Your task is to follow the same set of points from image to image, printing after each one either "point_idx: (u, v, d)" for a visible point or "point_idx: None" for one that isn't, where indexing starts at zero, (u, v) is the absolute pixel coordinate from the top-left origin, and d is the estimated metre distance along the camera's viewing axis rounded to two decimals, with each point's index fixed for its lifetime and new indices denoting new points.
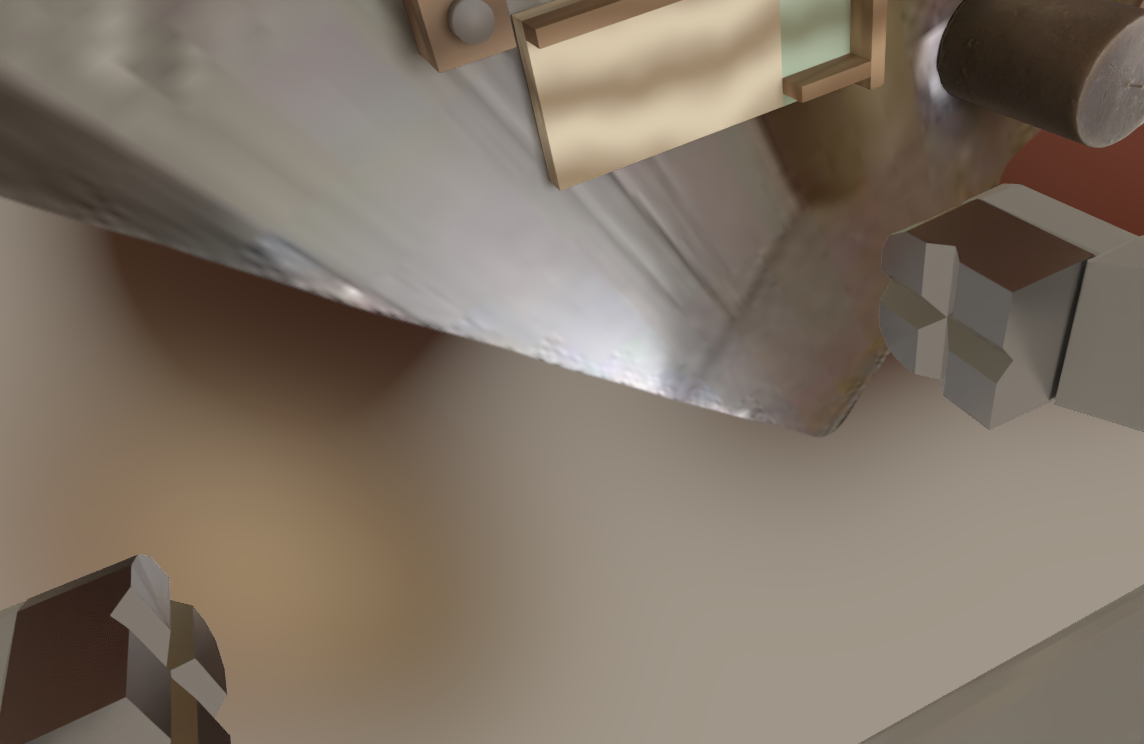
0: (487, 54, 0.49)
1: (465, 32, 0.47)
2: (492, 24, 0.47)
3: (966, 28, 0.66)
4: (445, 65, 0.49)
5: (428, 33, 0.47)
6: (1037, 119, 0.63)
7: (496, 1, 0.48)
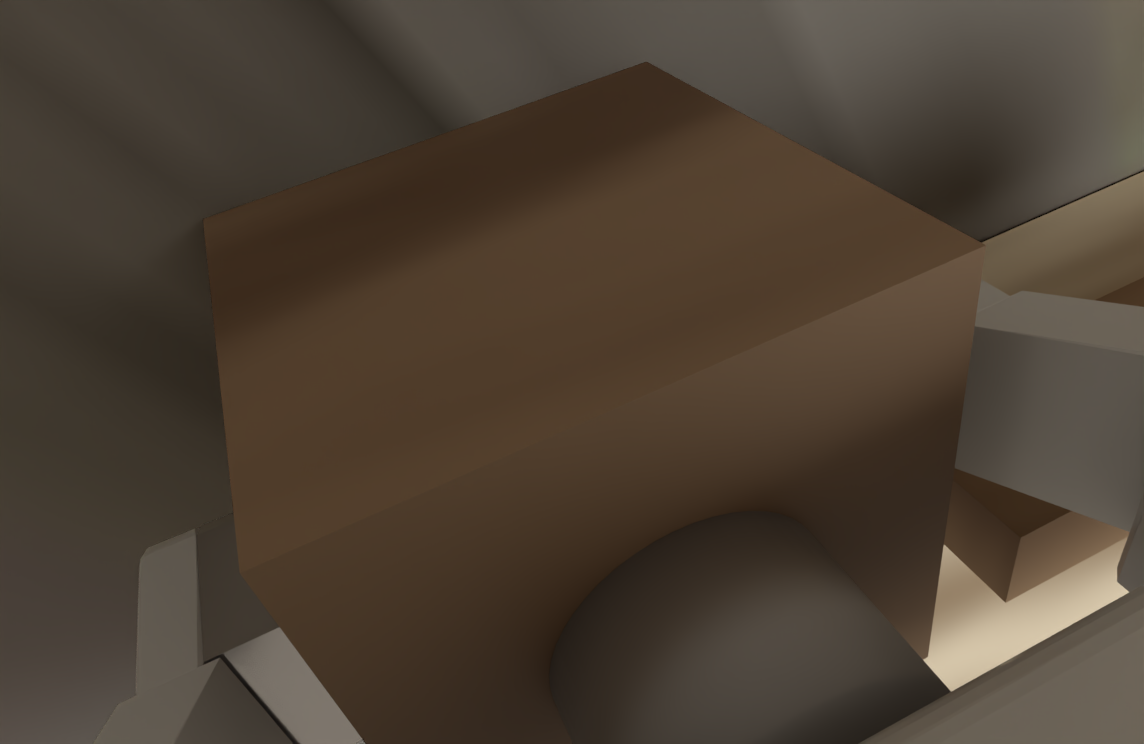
0: None
1: None
2: None
3: None
4: None
5: None
6: None
7: (897, 501, 0.07)
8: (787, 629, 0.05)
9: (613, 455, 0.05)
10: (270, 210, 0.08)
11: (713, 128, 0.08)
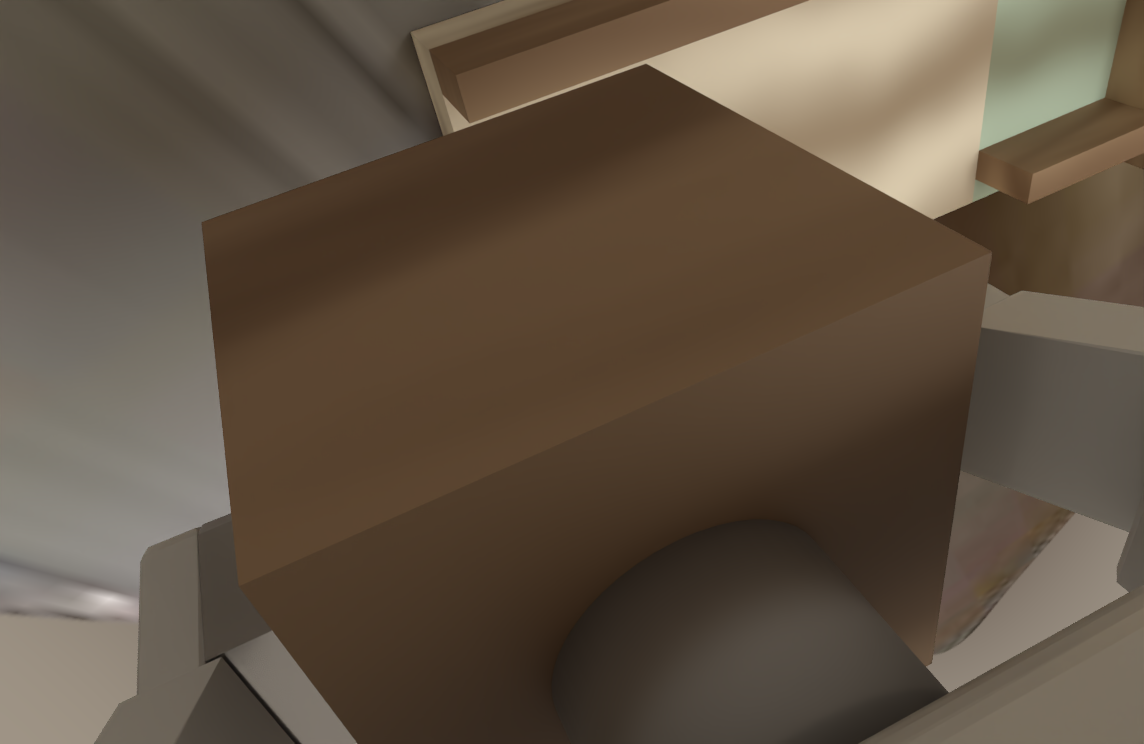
0: None
1: None
2: None
3: None
4: None
5: None
6: None
7: (901, 508, 0.07)
8: (792, 639, 0.05)
9: (617, 466, 0.05)
10: (270, 215, 0.08)
11: (715, 130, 0.07)
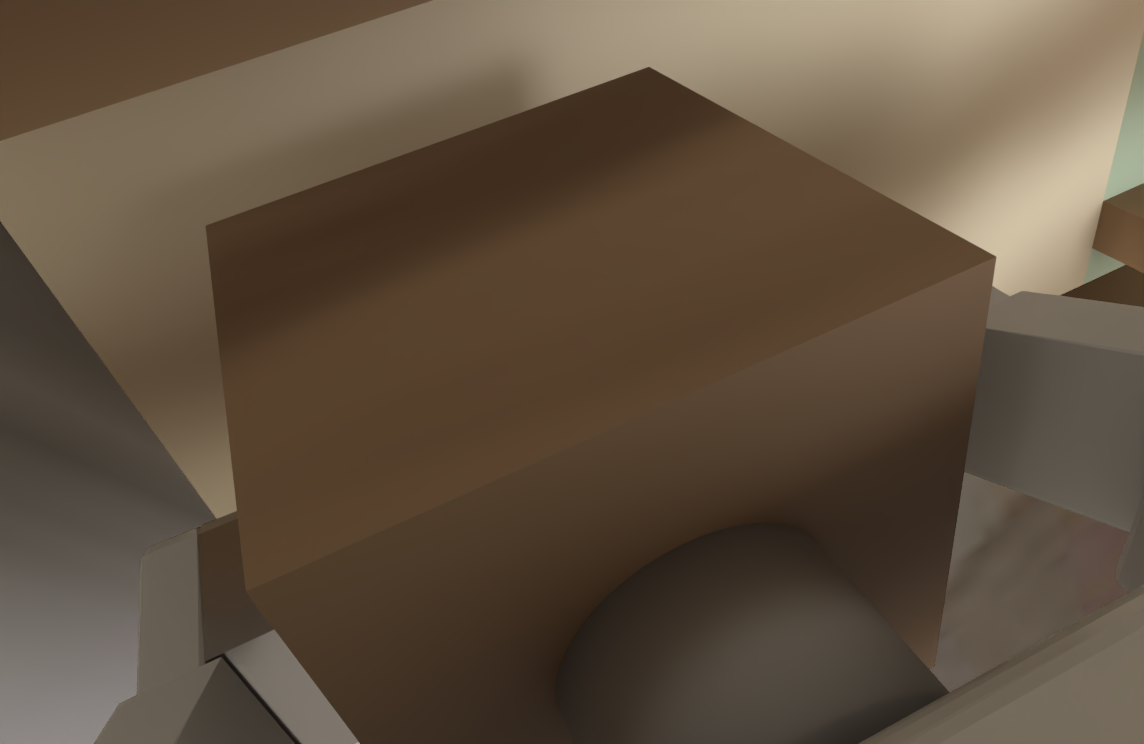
0: None
1: None
2: None
3: None
4: None
5: None
6: None
7: (905, 512, 0.07)
8: (797, 643, 0.05)
9: (622, 471, 0.05)
10: (274, 219, 0.08)
11: (718, 135, 0.08)
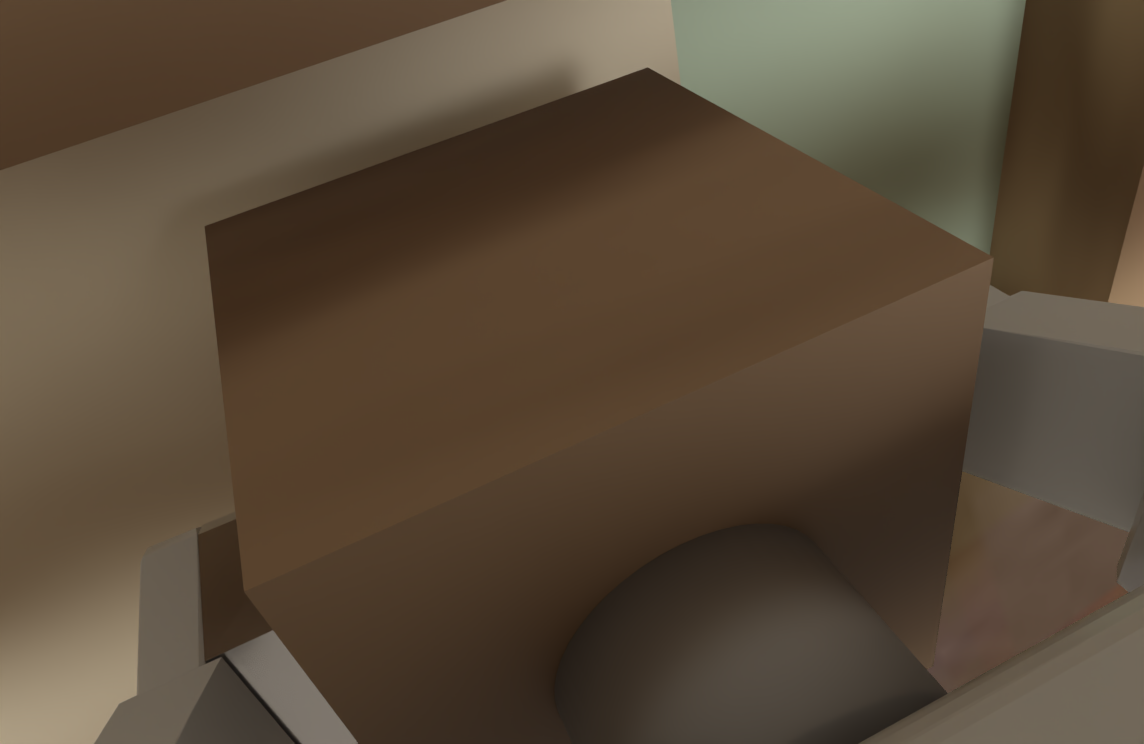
0: None
1: None
2: None
3: None
4: None
5: None
6: None
7: (903, 513, 0.07)
8: (795, 644, 0.05)
9: (622, 470, 0.05)
10: (273, 219, 0.08)
11: (717, 135, 0.08)
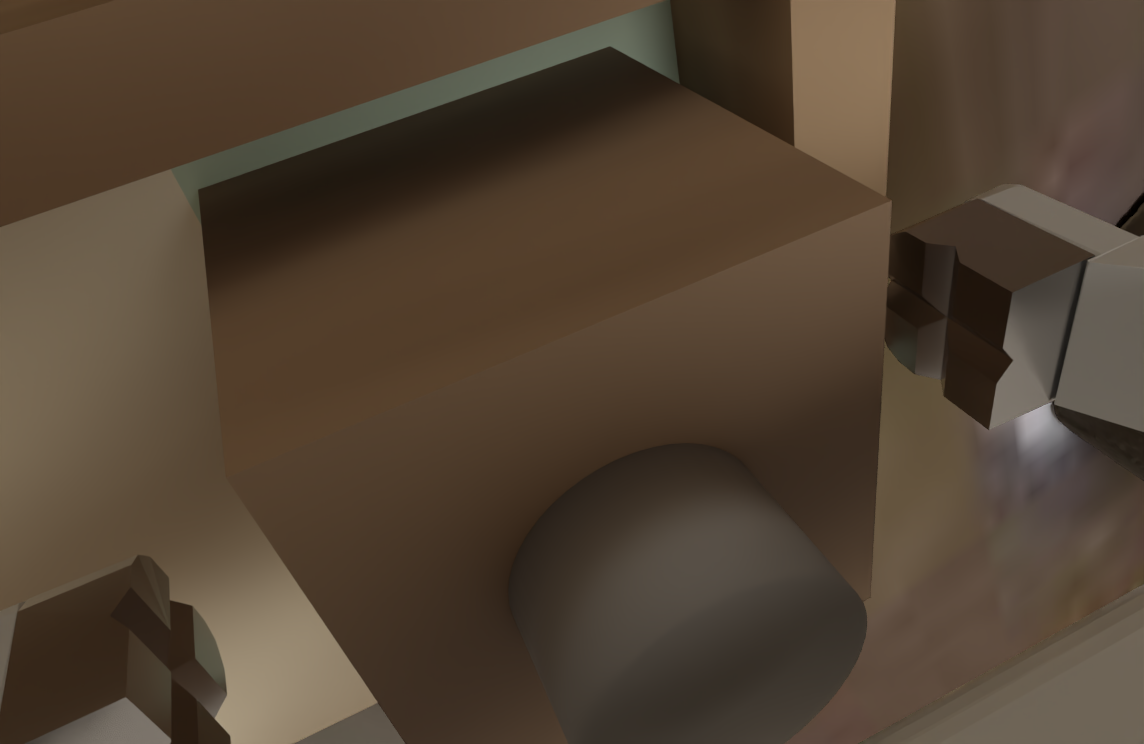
0: None
1: None
2: (842, 666, 0.06)
3: None
4: None
5: (379, 693, 0.07)
6: None
7: (827, 442, 0.07)
8: (710, 537, 0.06)
9: (559, 383, 0.06)
10: (261, 182, 0.09)
11: (666, 103, 0.08)
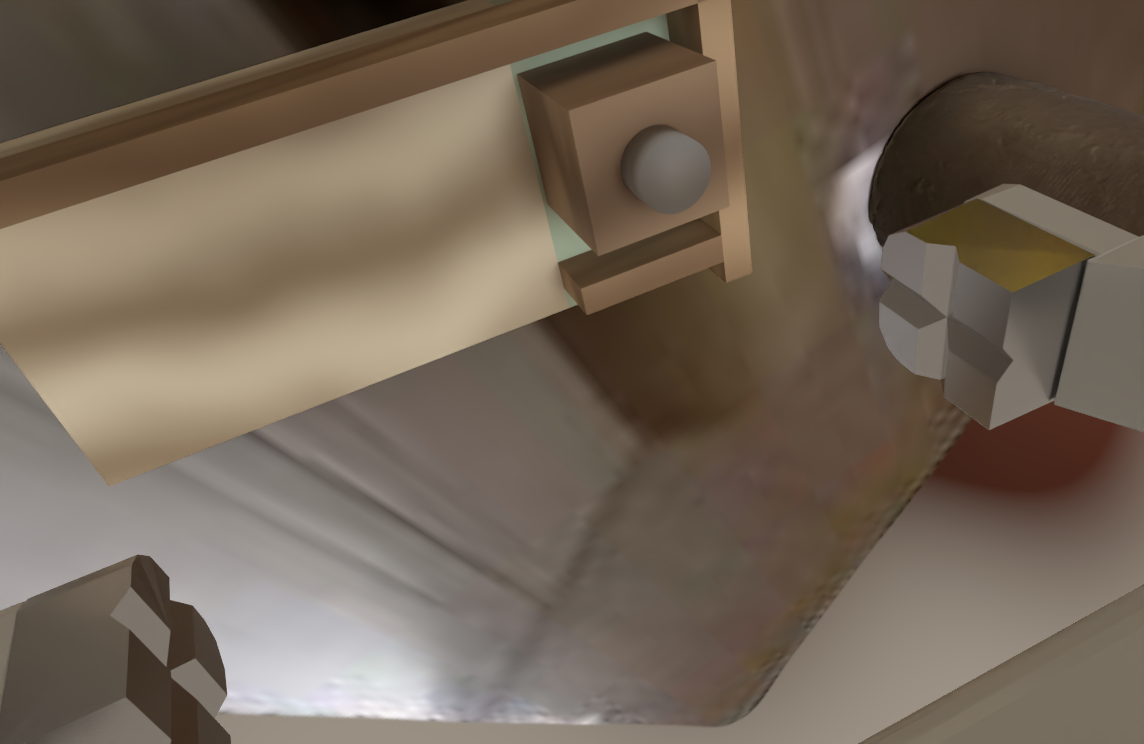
0: (680, 221, 0.28)
1: (658, 194, 0.25)
2: (706, 178, 0.26)
3: (913, 159, 0.37)
4: (609, 243, 0.27)
5: (586, 192, 0.26)
6: None
7: (707, 134, 0.27)
8: (671, 133, 0.25)
9: (636, 99, 0.25)
10: (538, 70, 0.28)
11: (664, 45, 0.28)
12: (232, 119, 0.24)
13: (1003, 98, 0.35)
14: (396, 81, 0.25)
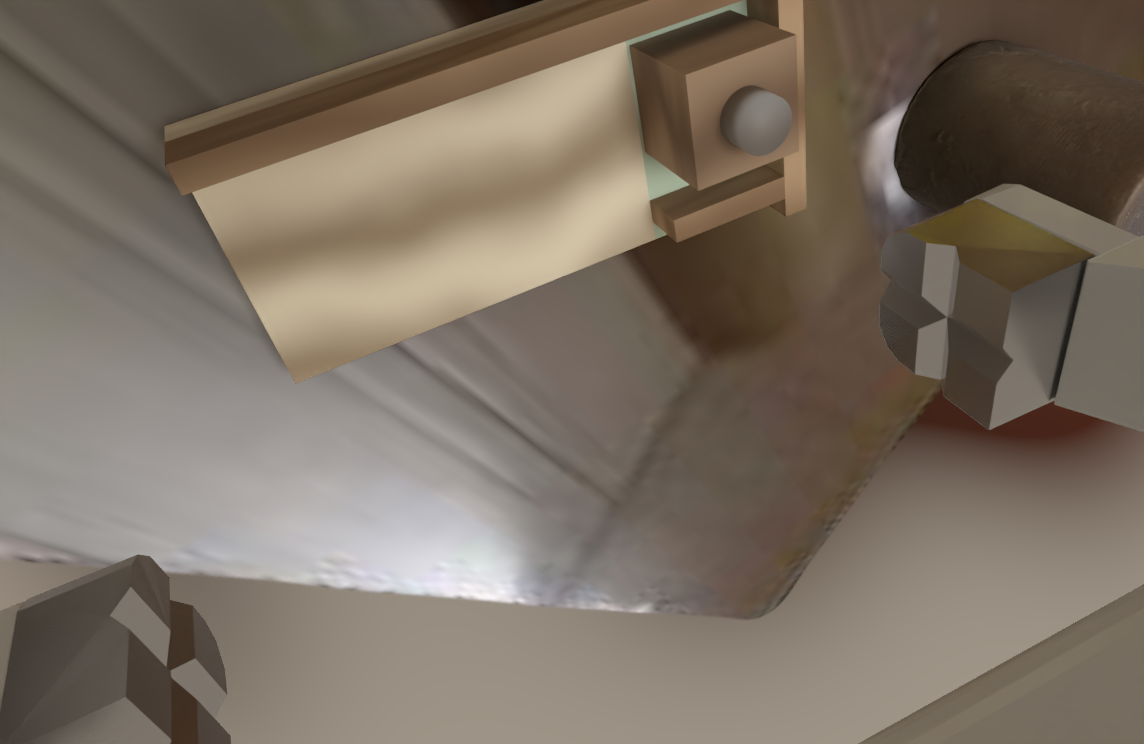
0: (761, 163, 0.35)
1: (752, 140, 0.33)
2: (787, 128, 0.33)
3: (934, 114, 0.44)
4: (707, 180, 0.35)
5: (693, 139, 0.33)
6: None
7: (785, 93, 0.34)
8: (763, 92, 0.32)
9: (735, 66, 0.32)
10: (647, 42, 0.35)
11: (748, 21, 0.35)
12: (431, 83, 0.31)
13: (1010, 62, 0.42)
14: (551, 52, 0.32)
